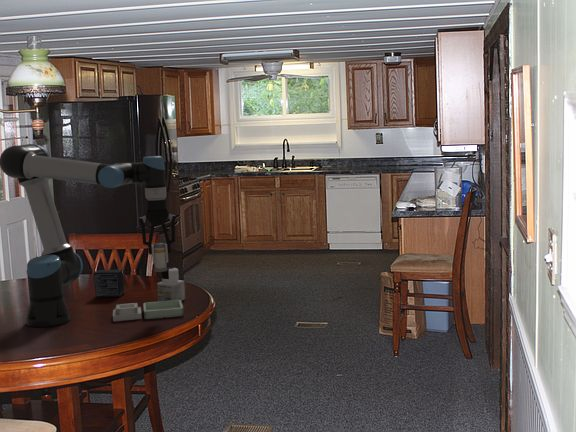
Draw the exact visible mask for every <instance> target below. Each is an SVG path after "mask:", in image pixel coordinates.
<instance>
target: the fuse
mask: <svg viewBox="0 0 576 432" xmlns="http://www.w3.org/2000/svg"><path fill="white" fill-rule="evenodd" d="M165 244H166V243H165V242H155V243H153V244H152V245H153V246H154V258H155V264H154V271H155V272H157V273H161V272H164V271H167V268H168V267H167V263H166V255H165Z"/></svg>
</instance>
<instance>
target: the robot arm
mask: <svg viewBox="0 0 576 432" xmlns="http://www.w3.org/2000/svg"><path fill="white" fill-rule="evenodd" d="M164 159H165V158H164V157H162V156H161V155H153V156H151V155H150V156H144V157H143V159H142V162H118V163H113V164H107V163H99V162H94V161H93V162H91V161H84V160H76V159H68V158H60V157H52V156H50V154H49V152H48V151H47V149H46V148H45V147H43V146H42V145H38V144H33V143H29V144H21V145H12V146H9V147H6V148H5V149H3V151H2V152H1V154H0V170H2V172H3V173H4V175H7V176H8V177H10V178H12V179H13V178H14V179H17V182H18V185H20V186H21V187H23V188H24V190H25V192H26V196H27V199H28V203H29V205H30V209H31V212H32V216H33V218H34V222H35V225H36V229H37V232H38V235H39V238H40V239H39V240H40V241H41V242H40V243H41V244H42V248H43V250H42V252H41V254H40V256H35V257H33V258H31V259H29V260H28V261H27V263H26V275H27V284H28V285H27V286H28V288H27V289H28V295H29V296H28V297H29V304H28V309H27V312H26V317H25V323H26V325H27V326H28V327H32V328H48V327H54V326H58V325H59V326H60V325H63V324H65V323H68V322H69V321H70V320H71V314H70V311H69V309H68V306H67V305H66V302H65V298H64V290H63V287H65V286H67V285H70V284H72V283H74V282H75V281H77V280H78V279H79V278H80V276H81V274H82V272H83V269H84V268H83V266H84V264H83V260H82V257H81V256H80V254H78V253H76V252H74V249H73V245H72V244H70V243H68V242H67V239H66V236H65V233H64V229H63V227H62V224H61V220H60V217H59V213H58V211H57V207H56V204H55V200H54V197H53V195H52V191H51V188H50V184H49V180H59V181H67V182H74V183H75V182H76V183H83V184H90V185H97V186H98V185H99V186H102V187H104V188H108V189H115V188H119V187H120V186H121V187H122V186H125V185H129V184H144V194H145V195H144V196H145V199H146V200H145V208H146V209H145V210H146V211H145V215H144V216H142V217H141V216H140V217H138V221H139V222H140V226H141V227H140V228H141V236H142V244H143V245H145V246H147V247H148V254H149V255H151V257H152V258H151V259H152V265H153V264H154V265H155V257H154V246H153V244H152V243H153V237H154V230H155V226H157V225H161V228H162V231H163V234H164V238H165V242H166V243H165V255H166V264H167V263H169V254H171V251H172V250H171V244H173V243H175V242H176V229H175V227H176V226H175V222H176V219H177V216H176V215H175V214H171V213H170V212H169V210H168V201H167V186H166V185H167V184H166V168H165V160H164ZM168 218H169V221H170V235H171V236H170V237H169V234H168V231H167V230H168V229H167V226H166V222H167V219H168ZM146 219H147V221H148V222H149V223H150V226H149V227H150V228H149V236H148V240H147V235H146V226H145V225H146V224H145V223H146V222H147V221H146Z"/></svg>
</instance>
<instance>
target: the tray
mask: <svg viewBox="0 0 576 432" xmlns="http://www.w3.org/2000/svg"><path fill="white" fill-rule="evenodd" d="M142 306H143V316H144V320H152V319H153V320H154V319H164V317H165V318H172V317H173V318H175V317H184V316H185V311H184V305H183V302H182V301H181V300H170V301H159V302H158V301H149V302H143V305H142Z"/></svg>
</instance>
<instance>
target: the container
mask: <svg viewBox="0 0 576 432" xmlns="http://www.w3.org/2000/svg"><path fill="white" fill-rule="evenodd" d="M160 273H161V281H160V282H157V283H156V288H157V289H156V291H157V302H159V301H170V300H181V302H182V301H185V299H186V293H185V291H186V290H185V281H184V280H181V279H179V278H180V277H179V269H178V268H176V267H167V271H164V272H160Z"/></svg>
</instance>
